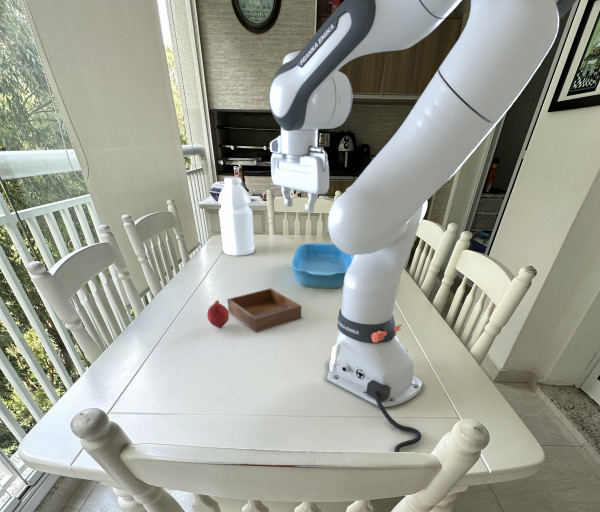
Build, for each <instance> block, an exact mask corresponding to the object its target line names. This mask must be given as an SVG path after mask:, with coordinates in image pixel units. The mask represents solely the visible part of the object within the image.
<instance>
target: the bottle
mask: <svg viewBox="0 0 600 512" xmlns="http://www.w3.org/2000/svg"><path fill="white" fill-rule="evenodd" d="M223 180H224V181H223V182H224V184H225V185H224V186H223V187H222V189H221V190H220V192H219V196H218V199H217V201H218V203H219V204H220V206H221V207H220V208H219V210H218V215H219V223H220V224H219V225H220V233H221V243H222V250H223V253H224V254H226V255H228V256H237V257H238V256H239V257H240V256H247V255H251V254H253V253H254V252H255V248H256V246H255V234H254V233H255V231H254V216H253V214H254V213H253V209H252V208H251V207H250V204H251V202H252V199H251V197H250V194H249V192H248V191H247V189H246V188H245V187H244V186H243V185H242V183H243V180H242V178H241V177H240V176H226V177H224V179H223Z"/></svg>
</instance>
